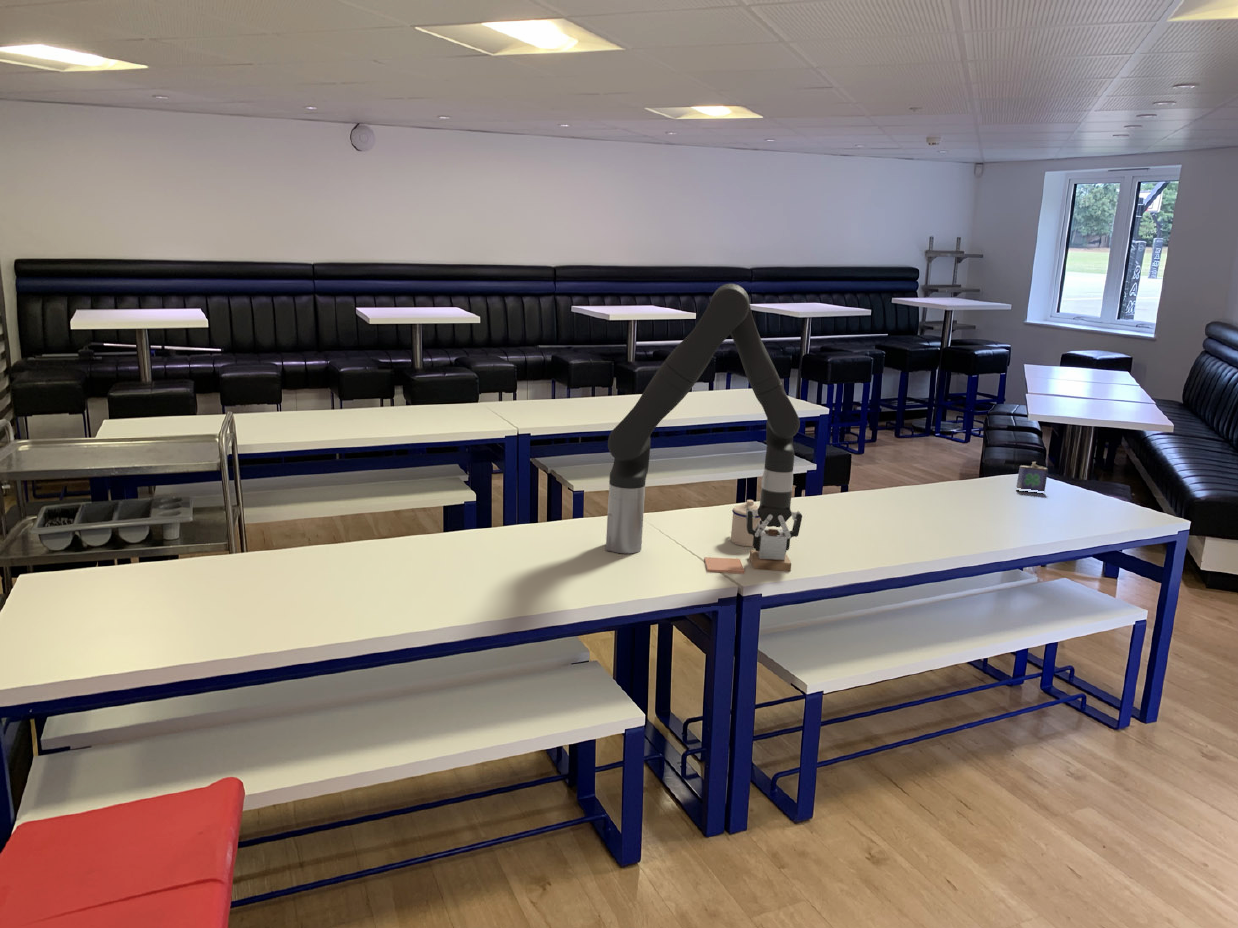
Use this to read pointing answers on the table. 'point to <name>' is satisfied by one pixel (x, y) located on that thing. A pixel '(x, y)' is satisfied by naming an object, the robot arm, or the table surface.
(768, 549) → the grey square nut
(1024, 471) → the flask
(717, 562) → the tile
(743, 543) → the beige lidded canister
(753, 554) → the post block
